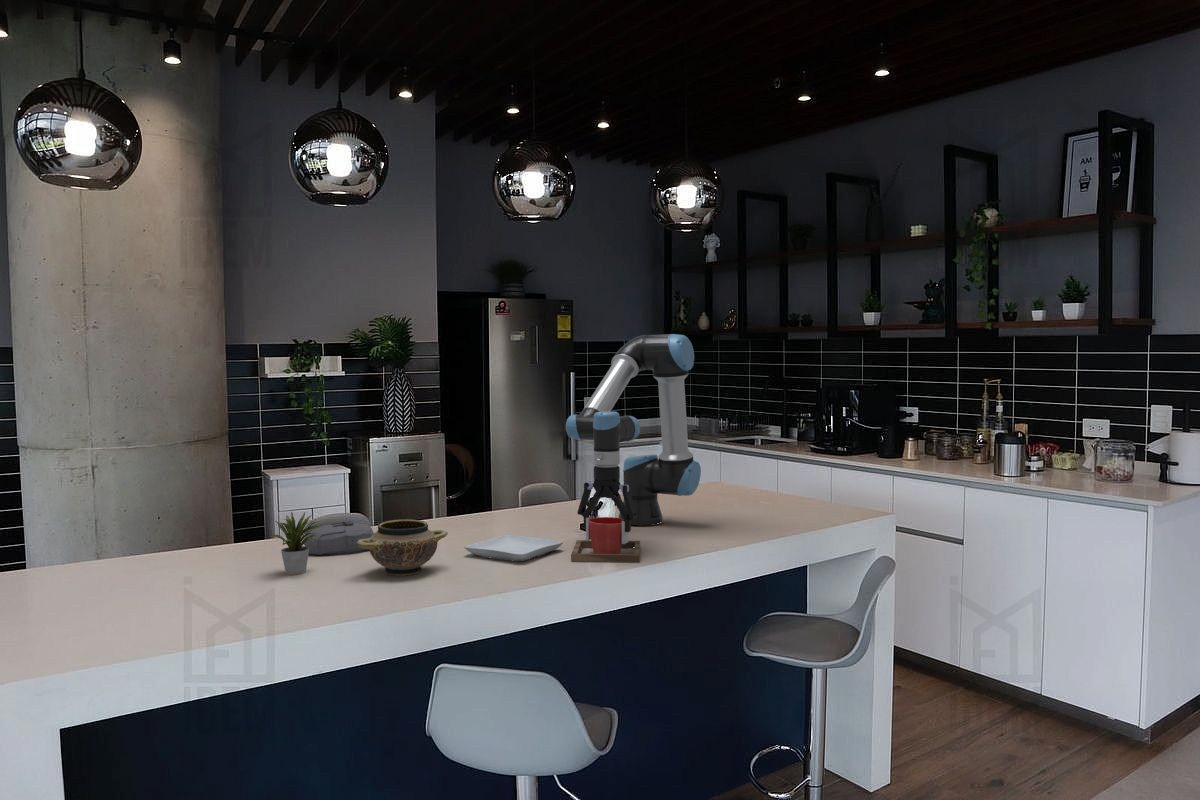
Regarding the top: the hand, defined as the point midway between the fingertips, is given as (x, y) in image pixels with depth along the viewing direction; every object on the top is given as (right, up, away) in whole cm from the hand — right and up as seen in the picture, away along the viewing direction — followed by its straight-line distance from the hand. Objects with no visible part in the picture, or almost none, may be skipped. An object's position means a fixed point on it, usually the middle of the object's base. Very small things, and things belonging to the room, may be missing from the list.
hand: (607, 541), depth 250 cm
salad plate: (-27, -4, +2) cm, 27 cm away
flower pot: (0, -4, 0) cm, 4 cm away
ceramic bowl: (-54, -5, -20) cm, 58 cm away
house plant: (-83, -5, -21) cm, 85 cm away
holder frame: (0, -4, 0) cm, 4 cm away
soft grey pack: (-80, -4, +7) cm, 80 cm away
